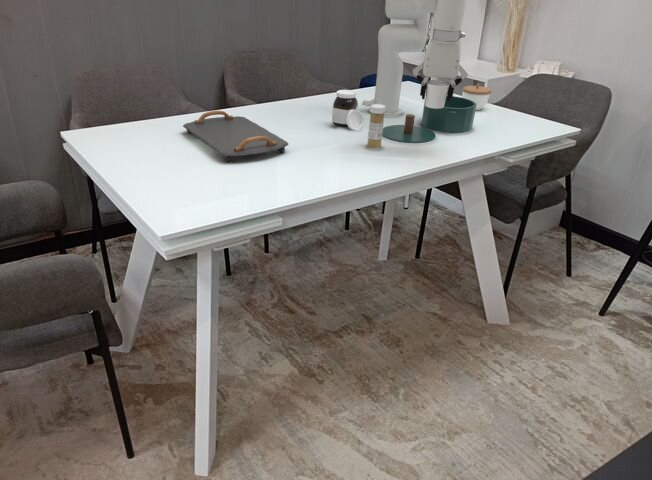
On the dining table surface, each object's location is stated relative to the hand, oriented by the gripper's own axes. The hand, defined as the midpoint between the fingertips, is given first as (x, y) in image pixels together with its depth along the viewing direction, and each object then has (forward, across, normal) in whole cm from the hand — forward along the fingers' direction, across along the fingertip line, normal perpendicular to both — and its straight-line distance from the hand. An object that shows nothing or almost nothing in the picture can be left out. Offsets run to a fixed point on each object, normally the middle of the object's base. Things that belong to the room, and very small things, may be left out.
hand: (435, 98), depth 166 cm
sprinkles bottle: (+17, +17, 0) cm, 24 cm away
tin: (+17, -8, -29) cm, 35 cm away
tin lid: (+16, +6, -15) cm, 23 cm away
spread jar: (+18, +27, -21) cm, 38 cm away
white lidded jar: (+18, -21, -58) cm, 64 cm away
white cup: (+2, 0, 0) cm, 2 cm away
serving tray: (+17, +62, +5) cm, 64 cm away
